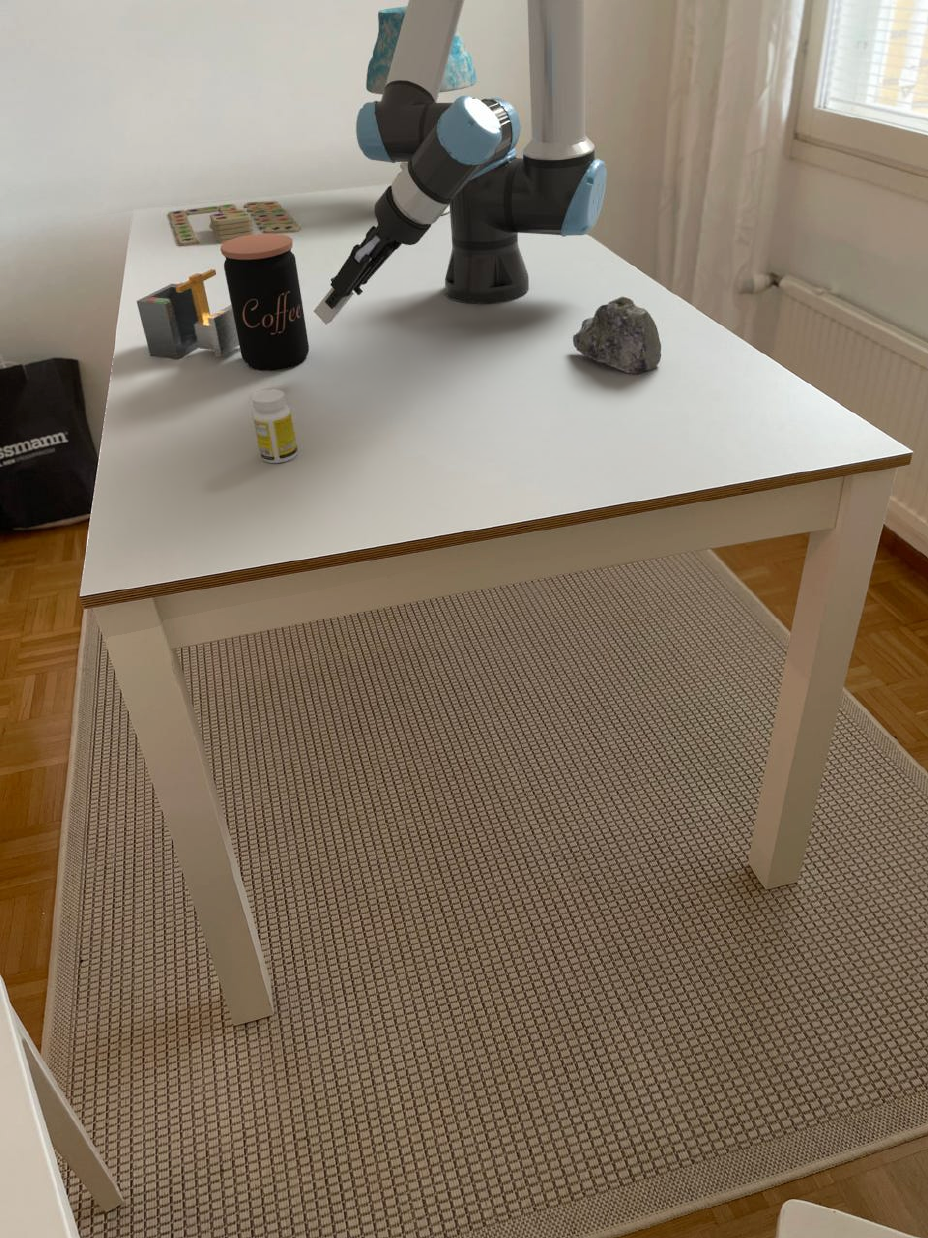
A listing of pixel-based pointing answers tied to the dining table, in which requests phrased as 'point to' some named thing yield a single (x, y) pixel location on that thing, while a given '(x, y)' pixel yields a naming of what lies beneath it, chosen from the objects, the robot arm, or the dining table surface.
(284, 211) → the pile of dominoes
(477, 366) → the dining table surface
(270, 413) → the supplement bottle
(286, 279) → the coffee jar
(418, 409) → the dining table surface
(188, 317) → the gauge housing
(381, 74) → the table lamp
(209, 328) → the plunger
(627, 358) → the mineral rock
